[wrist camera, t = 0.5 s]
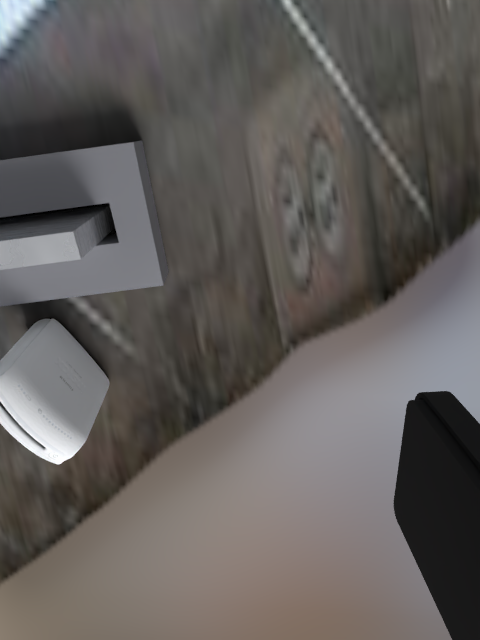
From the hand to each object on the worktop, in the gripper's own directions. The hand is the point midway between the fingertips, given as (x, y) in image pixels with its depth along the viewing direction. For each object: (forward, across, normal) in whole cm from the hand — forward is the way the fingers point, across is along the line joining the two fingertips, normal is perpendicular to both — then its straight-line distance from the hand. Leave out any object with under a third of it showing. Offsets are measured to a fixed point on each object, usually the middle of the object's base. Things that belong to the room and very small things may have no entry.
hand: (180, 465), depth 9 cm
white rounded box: (+35, +16, +15) cm, 41 cm away
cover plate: (+35, +15, +1) cm, 38 cm away
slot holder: (+35, +15, +1) cm, 38 cm away
